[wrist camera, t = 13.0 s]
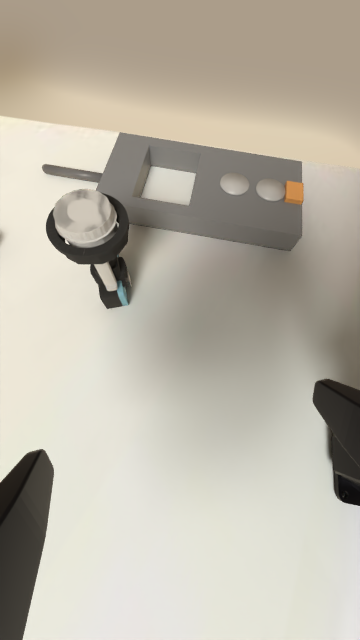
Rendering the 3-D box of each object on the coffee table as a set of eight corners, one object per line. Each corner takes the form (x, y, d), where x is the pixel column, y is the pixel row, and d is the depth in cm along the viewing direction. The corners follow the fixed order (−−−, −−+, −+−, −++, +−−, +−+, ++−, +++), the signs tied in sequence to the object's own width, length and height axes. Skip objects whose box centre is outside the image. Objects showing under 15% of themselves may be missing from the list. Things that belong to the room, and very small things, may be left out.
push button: (86, 258, 25) (36, 170, 16) (136, 250, 26) (116, 160, 16) (93, 315, 23) (38, 252, 14) (147, 305, 23) (131, 237, 14)
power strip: (291, 180, 30) (304, 157, 27) (290, 251, 26) (304, 232, 24) (60, 142, 31) (49, 116, 28) (27, 205, 27) (10, 182, 24)
